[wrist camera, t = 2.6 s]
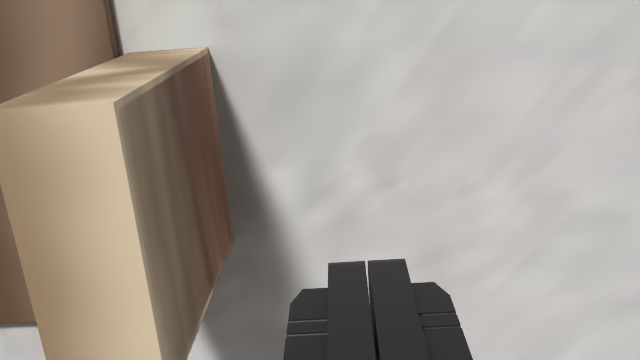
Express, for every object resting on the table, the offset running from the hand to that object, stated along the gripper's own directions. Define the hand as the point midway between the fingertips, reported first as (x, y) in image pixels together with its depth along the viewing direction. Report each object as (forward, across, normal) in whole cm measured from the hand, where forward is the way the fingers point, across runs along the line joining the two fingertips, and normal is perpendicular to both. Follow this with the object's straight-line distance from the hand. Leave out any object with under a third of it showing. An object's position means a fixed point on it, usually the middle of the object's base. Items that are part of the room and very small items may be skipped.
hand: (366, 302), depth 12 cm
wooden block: (+12, +7, 0) cm, 14 cm away
